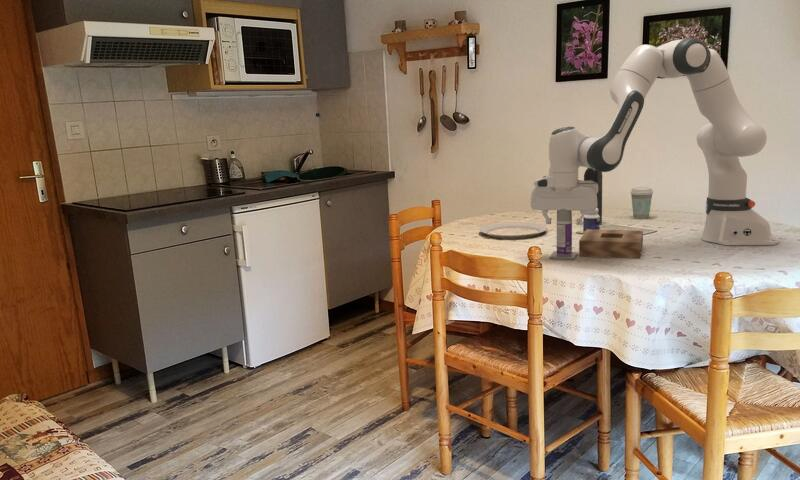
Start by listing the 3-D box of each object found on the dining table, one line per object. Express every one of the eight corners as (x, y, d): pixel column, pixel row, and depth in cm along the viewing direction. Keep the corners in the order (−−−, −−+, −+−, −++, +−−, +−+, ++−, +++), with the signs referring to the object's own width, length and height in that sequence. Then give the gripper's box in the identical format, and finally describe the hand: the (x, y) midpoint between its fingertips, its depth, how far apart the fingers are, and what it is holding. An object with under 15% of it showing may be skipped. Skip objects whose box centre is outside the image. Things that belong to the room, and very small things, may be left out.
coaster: (577, 254, 200) (577, 252, 200) (574, 260, 194) (574, 257, 194) (553, 253, 203) (553, 251, 203) (549, 259, 197) (549, 256, 197)
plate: (554, 238, 226) (554, 233, 226) (484, 242, 226) (484, 237, 226) (538, 225, 251) (538, 220, 251) (475, 228, 251) (475, 224, 251)
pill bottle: (600, 237, 223) (600, 209, 221) (583, 237, 224) (583, 210, 222) (598, 233, 228) (599, 207, 226) (582, 234, 230) (582, 207, 227)
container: (569, 252, 201) (569, 206, 198) (573, 255, 196) (573, 208, 193) (554, 252, 201) (554, 206, 198) (558, 256, 196) (558, 209, 193)
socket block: (642, 245, 207) (642, 230, 206) (639, 258, 191) (639, 242, 190) (586, 243, 215) (586, 229, 214) (579, 255, 199) (579, 240, 198)
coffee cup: (625, 217, 256) (626, 188, 253) (642, 215, 258) (643, 186, 256) (639, 220, 248) (639, 190, 245) (657, 218, 250) (658, 188, 248)
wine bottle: (596, 226, 242) (596, 148, 236) (582, 225, 246) (583, 148, 239) (602, 223, 246) (603, 147, 240) (589, 222, 250) (590, 147, 243)
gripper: (599, 178, 192) (599, 222, 195) (533, 179, 200) (533, 221, 203) (597, 181, 187) (596, 226, 189) (529, 181, 195) (529, 225, 198)
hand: (563, 224), depth 196 cm, fingers open, 8 cm apart
